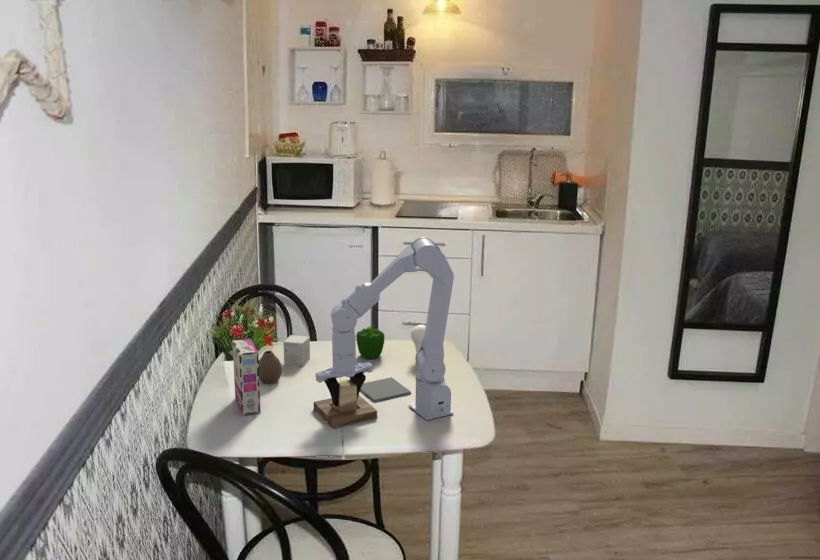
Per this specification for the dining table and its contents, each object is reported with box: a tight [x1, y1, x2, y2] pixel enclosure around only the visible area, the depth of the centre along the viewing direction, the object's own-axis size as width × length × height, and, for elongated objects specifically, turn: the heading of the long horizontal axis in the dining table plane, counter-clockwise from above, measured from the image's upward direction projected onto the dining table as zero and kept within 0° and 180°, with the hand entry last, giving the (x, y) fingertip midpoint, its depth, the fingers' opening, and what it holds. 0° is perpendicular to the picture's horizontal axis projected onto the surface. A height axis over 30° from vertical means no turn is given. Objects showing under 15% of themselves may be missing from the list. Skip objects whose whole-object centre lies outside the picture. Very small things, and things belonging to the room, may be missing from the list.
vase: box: [259, 350, 283, 385], centre depth 207 cm, size 7×7×9 cm
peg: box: [333, 378, 357, 413], centre depth 188 cm, size 4×4×8 cm
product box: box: [283, 334, 311, 367], centre depth 221 cm, size 6×6×7 cm
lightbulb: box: [410, 324, 426, 353], centre depth 223 cm, size 6×6×11 cm
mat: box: [360, 377, 412, 403], centre depth 203 cm, size 11×11×1 cm
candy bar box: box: [232, 338, 261, 416], centre depth 191 cm, size 11×5×16 cm, turn 22°
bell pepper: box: [355, 325, 385, 360], centre depth 226 cm, size 8×8×10 cm
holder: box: [313, 394, 378, 429], centre depth 189 cm, size 12×12×2 cm
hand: (344, 402), depth 189 cm, fingers closed on peg, 4 cm apart
